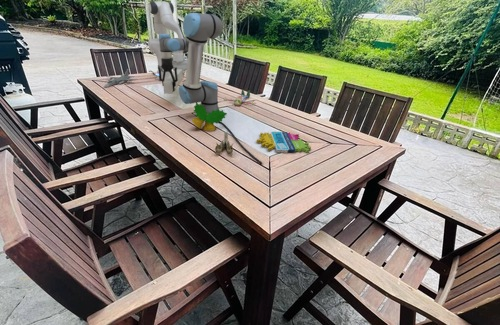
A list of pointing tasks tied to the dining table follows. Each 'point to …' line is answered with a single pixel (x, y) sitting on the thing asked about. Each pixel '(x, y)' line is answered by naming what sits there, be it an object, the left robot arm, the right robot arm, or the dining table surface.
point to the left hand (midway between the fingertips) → (179, 74)
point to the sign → (283, 142)
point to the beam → (168, 82)
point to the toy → (241, 99)
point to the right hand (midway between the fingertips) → (169, 90)
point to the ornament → (207, 117)
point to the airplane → (119, 79)
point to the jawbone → (224, 145)
